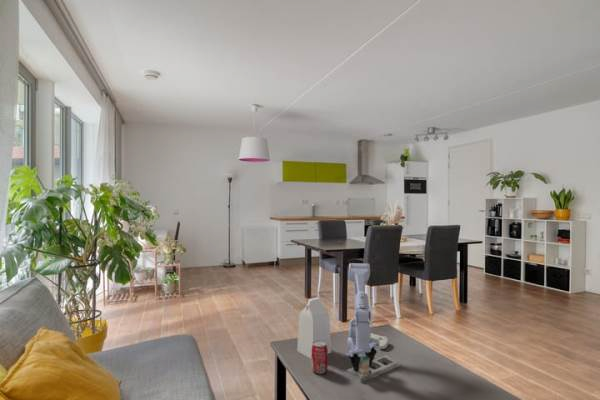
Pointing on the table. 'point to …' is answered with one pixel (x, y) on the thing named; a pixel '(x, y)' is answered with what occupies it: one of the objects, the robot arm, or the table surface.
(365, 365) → the peg
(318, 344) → the soda can
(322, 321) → the milk
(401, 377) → the table surface
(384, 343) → the game controller
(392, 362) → the grey compartment tray
